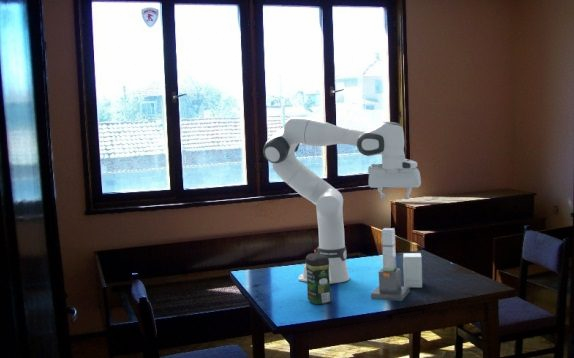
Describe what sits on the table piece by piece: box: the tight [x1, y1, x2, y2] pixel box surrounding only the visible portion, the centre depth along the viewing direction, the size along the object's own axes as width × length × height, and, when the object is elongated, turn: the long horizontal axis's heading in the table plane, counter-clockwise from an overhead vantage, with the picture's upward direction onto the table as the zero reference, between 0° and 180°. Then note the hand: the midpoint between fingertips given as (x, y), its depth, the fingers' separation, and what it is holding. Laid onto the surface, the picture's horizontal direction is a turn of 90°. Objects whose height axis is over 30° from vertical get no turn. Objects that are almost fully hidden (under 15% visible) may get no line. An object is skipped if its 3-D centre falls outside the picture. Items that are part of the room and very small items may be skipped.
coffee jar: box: [305, 252, 332, 305], centre depth 230 cm, size 10×8×19 cm
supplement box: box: [402, 252, 423, 288], centre depth 245 cm, size 7×7×13 cm
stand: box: [370, 267, 411, 302], centre depth 233 cm, size 12×12×10 cm
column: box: [381, 227, 397, 272], centre depth 232 cm, size 4×4×18 cm
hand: (395, 199), depth 233 cm, fingers open, 8 cm apart
